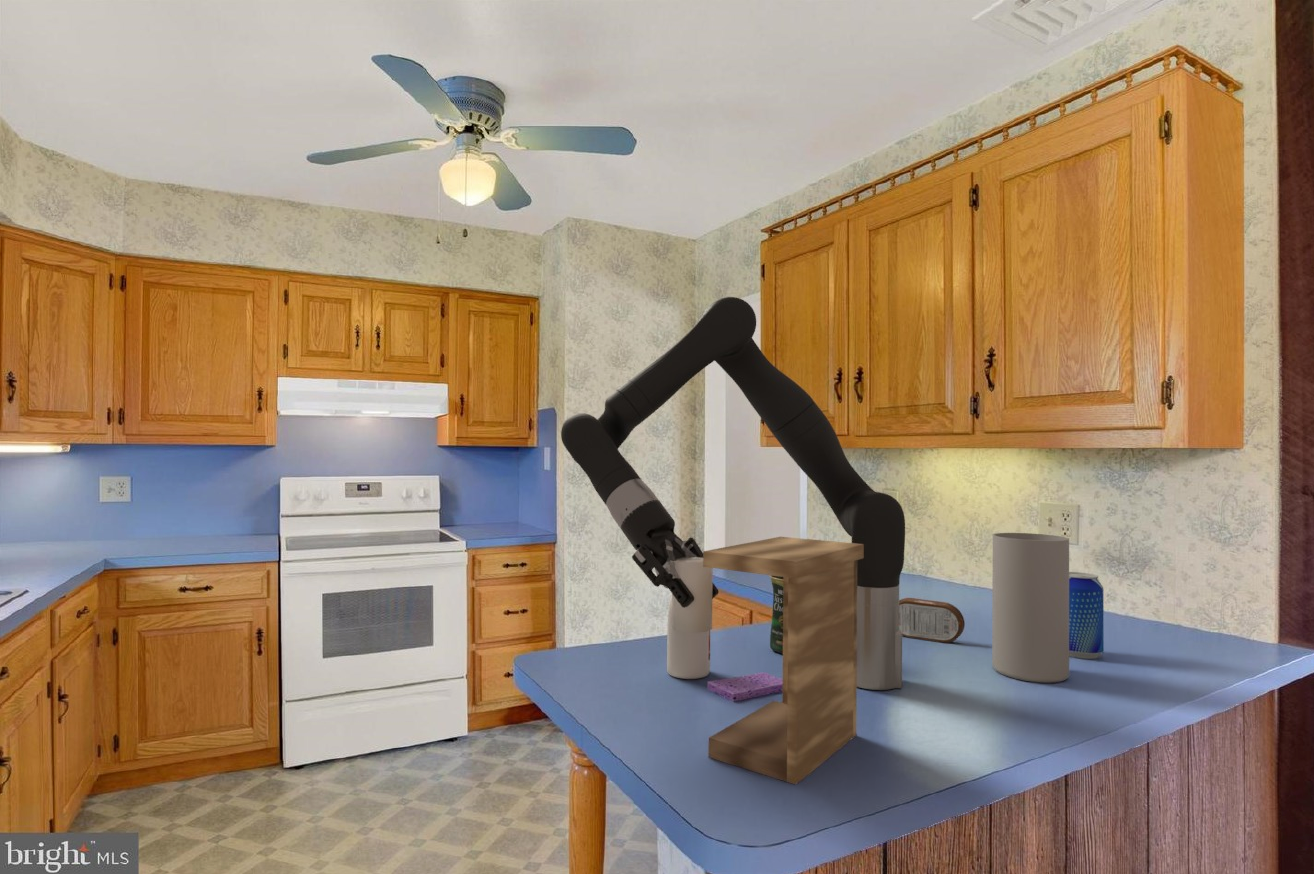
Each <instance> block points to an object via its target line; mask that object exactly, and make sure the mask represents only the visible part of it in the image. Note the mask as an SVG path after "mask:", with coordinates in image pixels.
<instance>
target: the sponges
mask: <svg viewBox="0 0 1314 874" xmlns="http://www.w3.org/2000/svg"><path fill="white" fill-rule="evenodd" d="M709 690H710V691H709ZM707 691H709V692H711V691H712V693H713V692H715V693H717V694H716V695H718V694H719V695H718V696H720V695H722V696H723V697H722V696H721V697H722V698H724V697H725V698H724V699H726V698H727V699H726V700H729V701H730V700H731V702H732V701H735V702H738V700H739V701H744V700H747V698H748V699H752V697H753V698H756V697H757V696H758V697H760V696H766V694H767V695H770V693H772V694H774V692H776V693H780V692H783V678H779V677H777V676H774V675H771V674H770V673H767V672H764V671H763V672H756V673H752V674H751V673H750V674H747V675H744V676H742V675H741V676H735V677H732V678H731V677H730V678H724V679H722V678H721V679H715V680H709V681H707ZM715 693H714V694H715Z"/></svg>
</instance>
